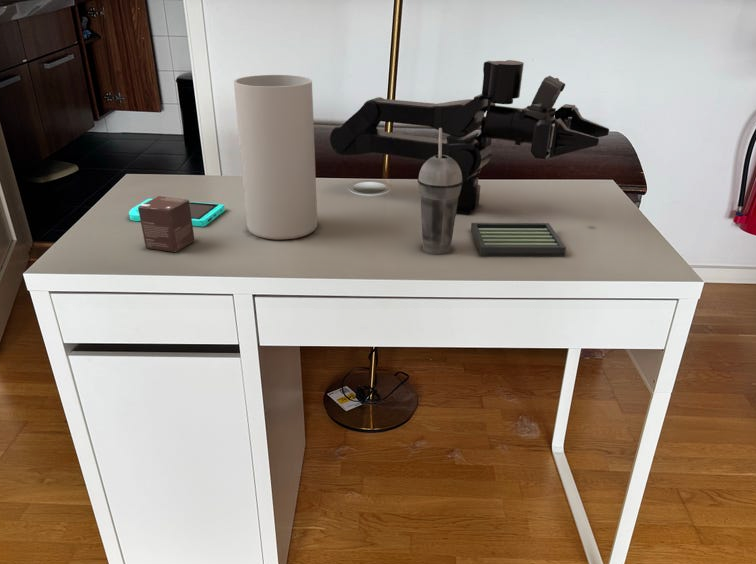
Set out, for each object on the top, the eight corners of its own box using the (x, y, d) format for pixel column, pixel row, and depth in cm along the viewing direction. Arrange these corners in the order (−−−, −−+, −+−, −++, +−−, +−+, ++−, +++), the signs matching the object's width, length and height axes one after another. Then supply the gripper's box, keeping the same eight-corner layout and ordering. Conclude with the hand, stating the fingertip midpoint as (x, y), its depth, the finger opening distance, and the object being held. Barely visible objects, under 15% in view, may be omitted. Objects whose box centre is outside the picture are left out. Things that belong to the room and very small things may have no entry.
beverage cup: (464, 245, 117) (473, 124, 107) (449, 260, 112) (457, 133, 101) (424, 238, 120) (429, 120, 110) (408, 252, 114) (412, 128, 104)
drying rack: (480, 256, 113) (481, 247, 112) (470, 231, 124) (471, 222, 123) (564, 256, 114) (565, 247, 113) (547, 231, 124) (549, 222, 123)
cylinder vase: (330, 224, 126) (326, 78, 113) (291, 246, 116) (282, 89, 104) (275, 213, 131) (265, 72, 118) (233, 233, 121) (217, 82, 109)
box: (195, 241, 118) (190, 199, 114) (175, 253, 113) (169, 210, 109) (165, 236, 119) (159, 195, 116) (144, 248, 114) (136, 205, 111)
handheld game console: (150, 203, 135) (149, 196, 134) (226, 209, 132) (225, 202, 132) (123, 220, 126) (122, 212, 126) (204, 227, 124) (203, 219, 123)
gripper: (505, 83, 111) (603, 94, 106) (536, 70, 126) (623, 79, 120) (497, 152, 117) (589, 166, 111) (527, 133, 132) (609, 144, 126)
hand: (603, 136), depth 117 cm, fingers open, 9 cm apart
